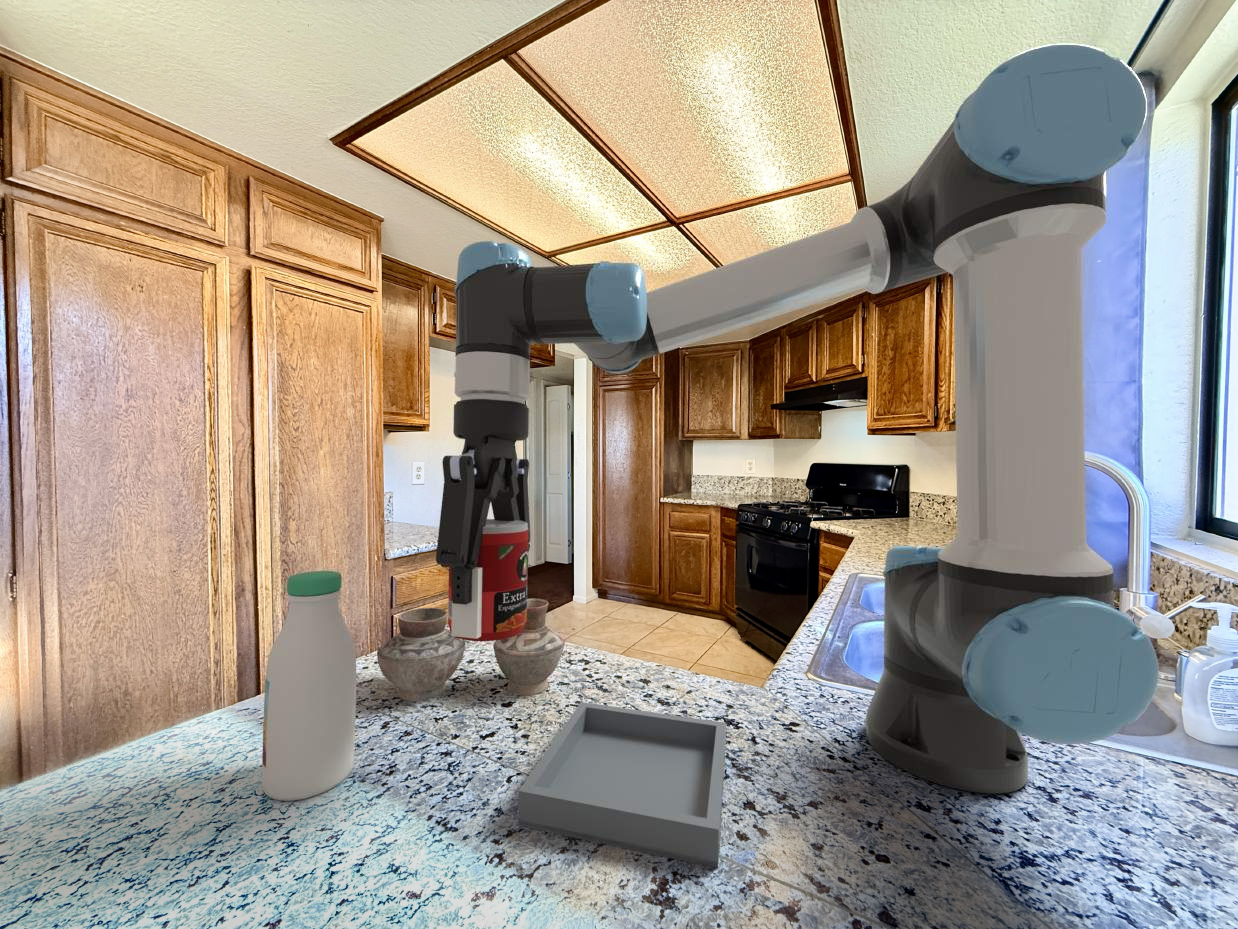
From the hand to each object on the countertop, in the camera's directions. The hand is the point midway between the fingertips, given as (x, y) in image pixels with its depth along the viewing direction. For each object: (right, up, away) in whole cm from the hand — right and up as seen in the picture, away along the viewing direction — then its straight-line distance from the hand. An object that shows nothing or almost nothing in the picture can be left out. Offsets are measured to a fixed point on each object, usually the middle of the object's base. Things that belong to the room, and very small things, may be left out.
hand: (488, 622), depth 51 cm
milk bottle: (-17, -15, -2) cm, 23 cm away
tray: (+15, -15, -2) cm, 21 cm away
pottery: (-7, -15, +18) cm, 24 cm away
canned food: (0, -1, 0) cm, 1 cm away
